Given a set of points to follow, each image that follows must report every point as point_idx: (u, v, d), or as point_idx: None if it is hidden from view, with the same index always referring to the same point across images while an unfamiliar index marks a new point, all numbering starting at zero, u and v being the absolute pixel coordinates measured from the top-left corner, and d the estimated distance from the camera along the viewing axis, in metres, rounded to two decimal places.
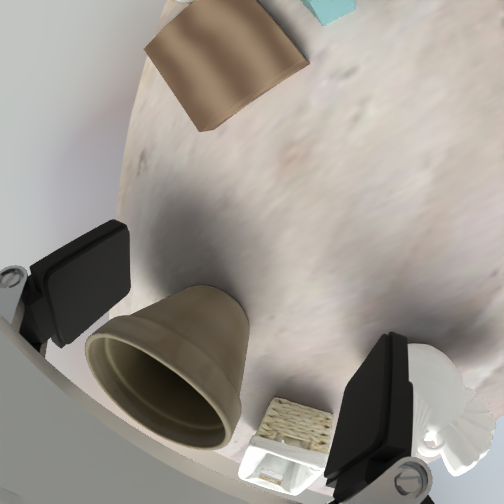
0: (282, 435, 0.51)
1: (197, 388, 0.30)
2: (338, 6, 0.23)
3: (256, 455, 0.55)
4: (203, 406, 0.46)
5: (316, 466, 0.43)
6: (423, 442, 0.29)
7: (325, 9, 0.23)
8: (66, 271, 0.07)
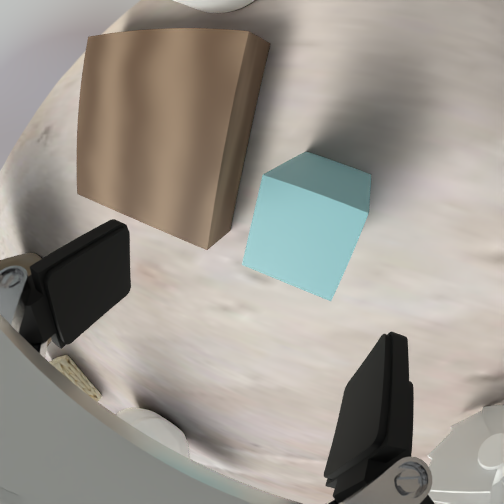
0: None
1: None
2: None
3: None
4: None
5: None
6: None
7: None
8: (66, 271, 0.07)
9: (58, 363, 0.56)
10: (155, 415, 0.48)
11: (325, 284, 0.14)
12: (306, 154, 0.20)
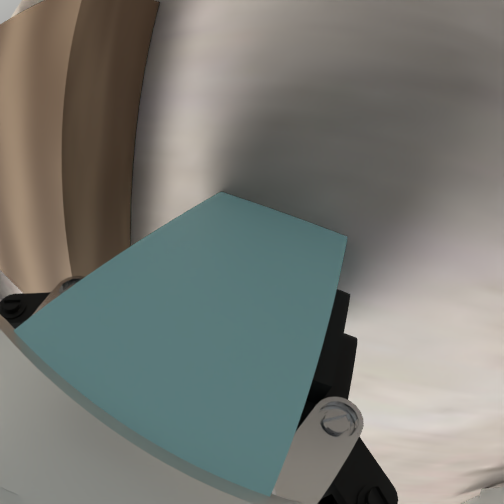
0: None
1: None
2: None
3: None
4: None
5: None
6: None
7: None
8: None
9: None
10: None
11: None
12: (214, 202, 0.10)
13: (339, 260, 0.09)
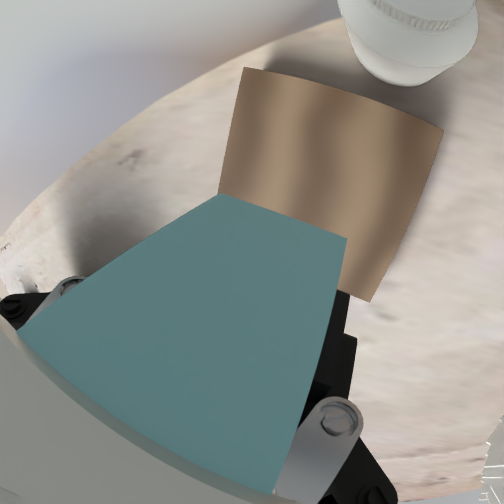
0: None
1: None
2: None
3: None
4: None
5: None
6: None
7: None
8: None
9: None
10: None
11: None
12: (213, 203, 0.10)
13: (339, 262, 0.09)
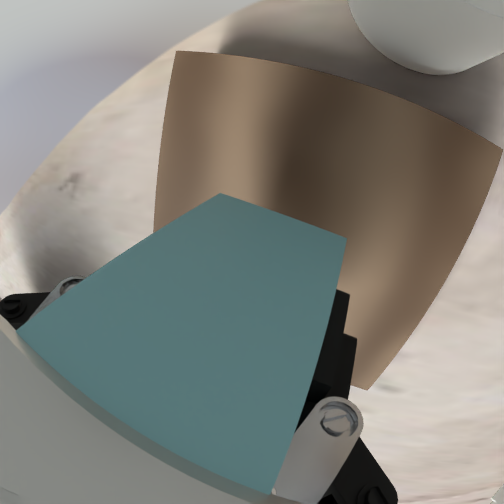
0: None
1: None
2: None
3: None
4: None
5: None
6: None
7: None
8: None
9: None
10: None
11: None
12: (213, 203, 0.10)
13: (338, 262, 0.09)
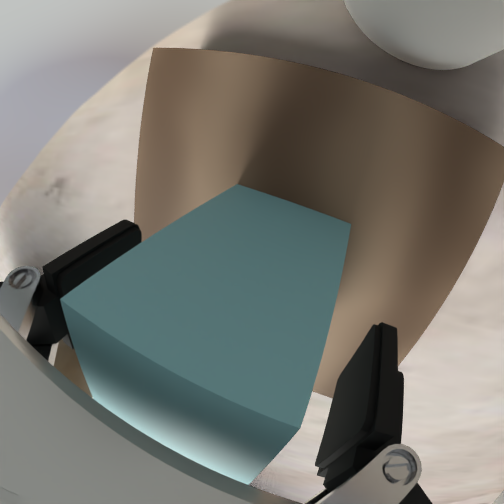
0: None
1: None
2: None
3: None
4: None
5: None
6: None
7: None
8: (80, 272, 0.08)
9: None
10: None
11: None
12: (232, 192, 0.12)
13: (344, 242, 0.10)
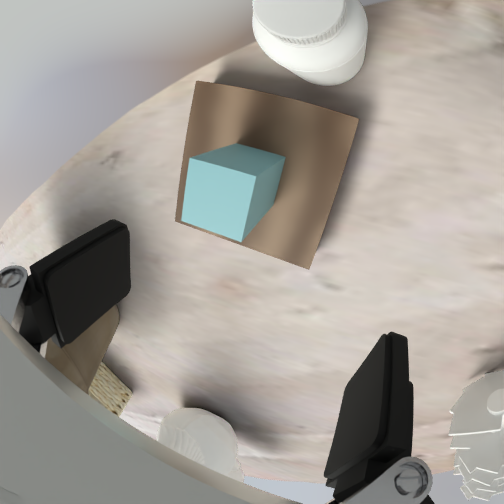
0: (89, 391, 0.58)
1: None
2: None
3: None
4: None
5: None
6: None
7: None
8: (66, 271, 0.07)
9: None
10: (206, 412, 0.56)
11: (235, 229, 0.21)
12: (234, 145, 0.27)
13: (279, 159, 0.25)
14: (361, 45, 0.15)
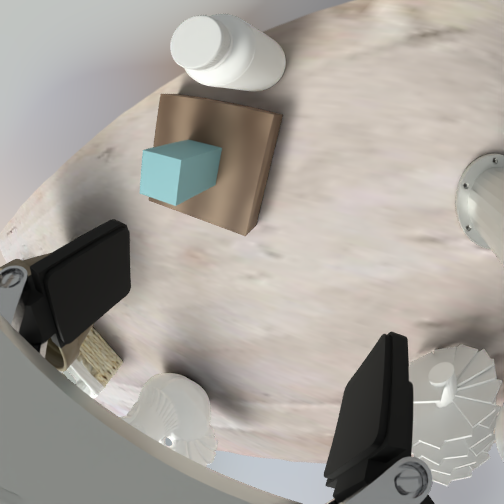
0: (83, 356, 0.68)
1: (60, 348, 0.43)
2: None
3: None
4: None
5: (93, 390, 0.64)
6: (163, 439, 0.55)
7: None
8: (66, 271, 0.07)
9: None
10: (183, 377, 0.65)
11: (171, 197, 0.30)
12: (185, 140, 0.35)
13: (213, 149, 0.34)
14: (250, 61, 0.23)
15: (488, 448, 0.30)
